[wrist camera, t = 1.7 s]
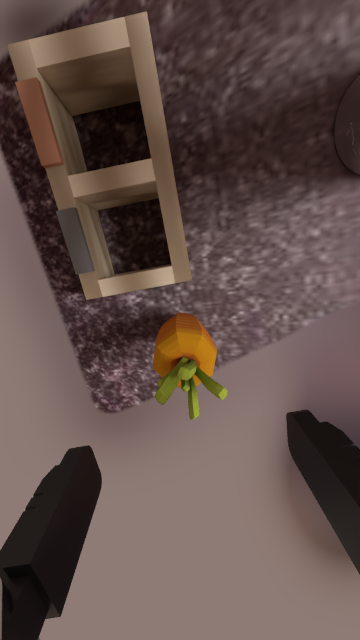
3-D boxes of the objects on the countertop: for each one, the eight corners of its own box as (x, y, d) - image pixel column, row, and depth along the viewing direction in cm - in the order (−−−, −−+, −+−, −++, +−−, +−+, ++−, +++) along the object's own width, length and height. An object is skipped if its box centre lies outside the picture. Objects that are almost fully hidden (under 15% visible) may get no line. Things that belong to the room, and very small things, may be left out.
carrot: (210, 312, 26) (252, 384, 12) (189, 346, 27) (202, 449, 13) (174, 291, 25) (170, 340, 11) (153, 327, 26) (125, 413, 12)
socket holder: (154, 76, 20) (145, 3, 14) (188, 274, 25) (192, 280, 19) (51, 99, 20) (1, 38, 14) (105, 290, 25) (84, 301, 19)
